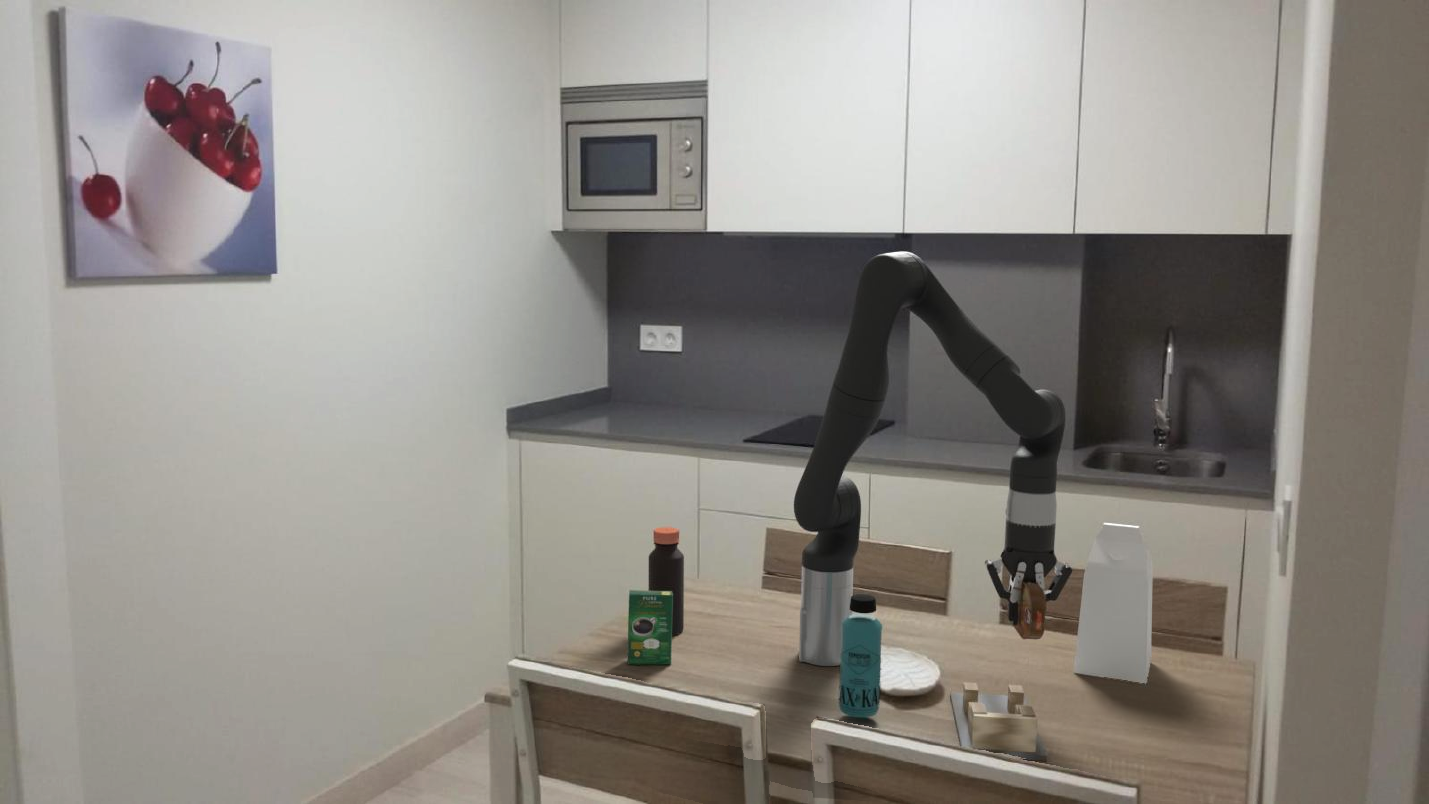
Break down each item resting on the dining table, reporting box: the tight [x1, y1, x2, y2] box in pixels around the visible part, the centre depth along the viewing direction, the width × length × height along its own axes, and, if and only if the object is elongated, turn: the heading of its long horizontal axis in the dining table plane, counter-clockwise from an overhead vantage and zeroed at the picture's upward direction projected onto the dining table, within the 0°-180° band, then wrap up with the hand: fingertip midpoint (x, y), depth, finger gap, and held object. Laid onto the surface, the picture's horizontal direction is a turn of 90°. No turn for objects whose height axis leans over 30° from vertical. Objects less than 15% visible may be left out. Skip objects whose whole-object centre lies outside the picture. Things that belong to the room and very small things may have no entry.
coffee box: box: [627, 589, 673, 666], centre depth 198 cm, size 8×3×13 cm, turn 92°
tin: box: [1007, 580, 1047, 640], centre depth 176 cm, size 15×3×8 cm, turn 178°
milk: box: [1073, 522, 1154, 685], centre depth 197 cm, size 12×12×26 cm
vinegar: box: [648, 526, 685, 637], centre depth 215 cm, size 7×7×20 cm
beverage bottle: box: [837, 593, 883, 718], centre depth 175 cm, size 6×7×20 cm
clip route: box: [949, 681, 1048, 762], centre depth 173 cm, size 12×22×6 cm, turn 173°
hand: (1024, 623), depth 177 cm, fingers closed on tin, 2 cm apart
